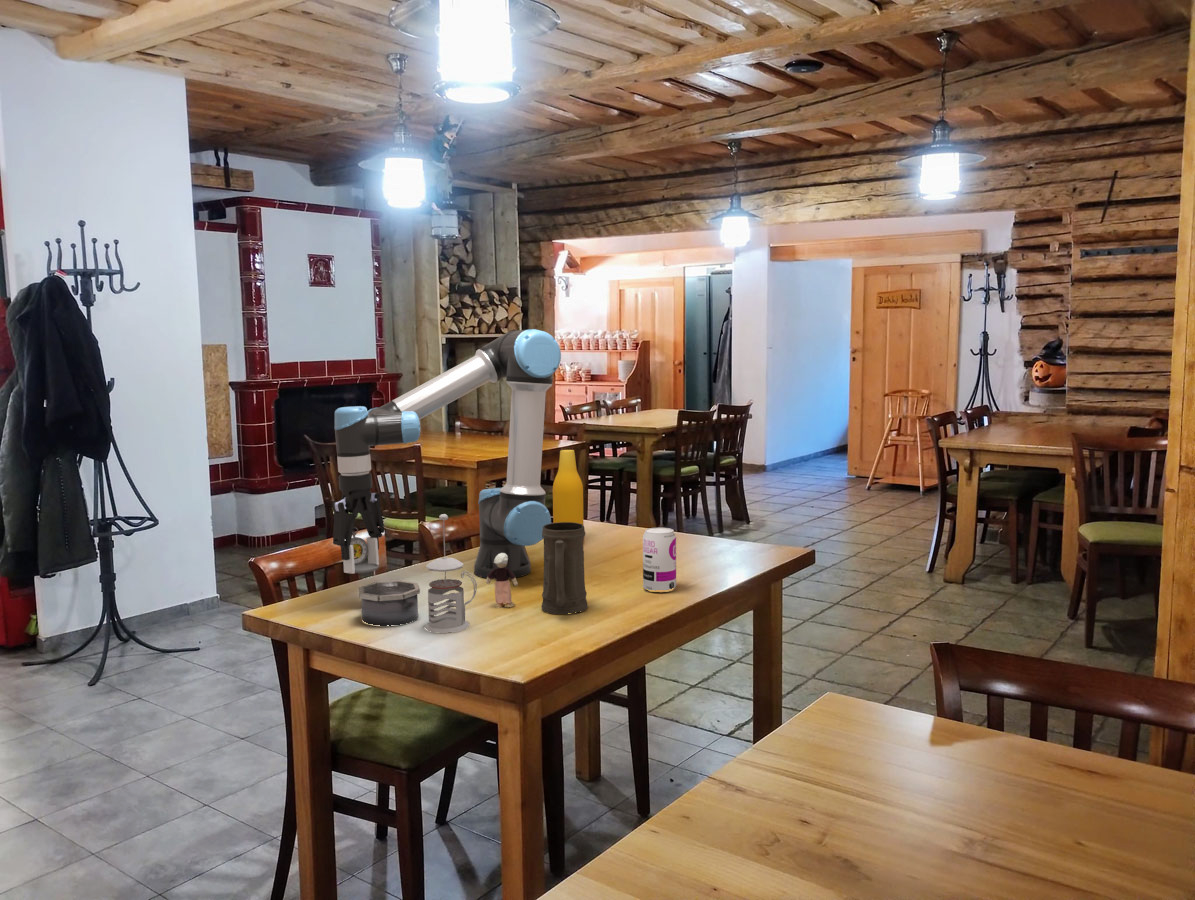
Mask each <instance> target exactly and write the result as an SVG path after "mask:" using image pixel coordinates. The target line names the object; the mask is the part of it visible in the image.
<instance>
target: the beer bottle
mask: <svg viewBox="0 0 1195 900" xmlns="http://www.w3.org/2000/svg"><path fill="white" fill-rule="evenodd" d="M558 461H559V463H558V470H557V473H556V476H555V477H554V480H553V485H552V516H553V517H552V518H553V519H552V520H553V522H552V523H558V522H574V523H579V524H582V525H584V484H583V481H582V478H581V476H580V475H579V473H578V472H579V471H578V470H577V463H576V453H575V450H574V449H561V450H560V451H559V460H558ZM584 544H585V540H584V541H583V545H584Z"/></svg>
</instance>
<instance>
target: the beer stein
mask: <svg viewBox="0 0 1195 900" xmlns="http://www.w3.org/2000/svg"><path fill="white" fill-rule="evenodd" d="M542 536H543V587H542V588H543V590H542V594H541V597H542V603H541V610H542V611H543V612H544V613H547V612H548V613H547V614H551V613H552V614H551V615H559V614H568V613H575V612H580V611H583V612H585V611H586V610H585V609H587V610H588V608H589V606H588V605H589V604H588V601H587V594H588V593H587V590H586V582H585V557H584V556H585V555H584V554H585V551H584V544H583V541H584V542H585V536H586V530H585V526H584V525H582V524H579V523H574V522H558V523H553V522H551V524H547V525H544V526H543V531H542ZM584 610H585V611H584ZM568 615H569V614H568Z"/></svg>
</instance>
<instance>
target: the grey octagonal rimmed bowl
mask: <svg viewBox="0 0 1195 900" xmlns="http://www.w3.org/2000/svg"><path fill="white" fill-rule="evenodd" d="M418 594H419V595H420V594H421V588H420V586H419V583H418V582H415V581H406V580H400V579H398V580H397V579H396V580H385V581H376V582H372V583H368V584H365V585H363V586H360V587H358V596H359V599H360V603H361V621H362V620H363V621H364V622H366V623H368V624H373V625H380V626H387V625H389V626H390V627H392V626H391V625H399V626H401V625H400V624H404V625H407V624H406V623H408V624H410V622H411V623H413V622H415V621H416V620H418V618H419V605H418V604H419V602H418ZM414 620H415V621H414ZM412 621H413V622H412Z"/></svg>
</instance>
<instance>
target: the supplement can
mask: <svg viewBox="0 0 1195 900" xmlns="http://www.w3.org/2000/svg"><path fill="white" fill-rule="evenodd" d="M642 587H643V589H644V590H646V589H648V590H655V591H656V590H669V589H672V588H675V587H676V588H677V535H676V534H675V532H674V529H672V528H669V527H651V528H646V529H645V530H644V533H643V535H642ZM676 588H675V589H676Z"/></svg>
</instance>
